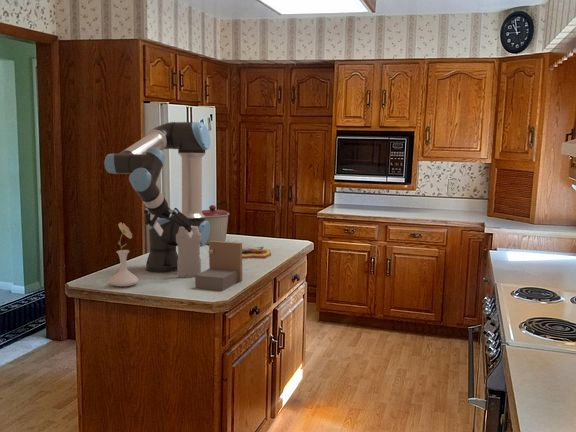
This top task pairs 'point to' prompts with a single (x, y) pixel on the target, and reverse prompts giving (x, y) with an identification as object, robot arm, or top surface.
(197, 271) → the pale grey bottle shape
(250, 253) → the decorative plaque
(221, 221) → the canister
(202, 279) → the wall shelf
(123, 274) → the flower in vase
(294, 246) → the top surface
